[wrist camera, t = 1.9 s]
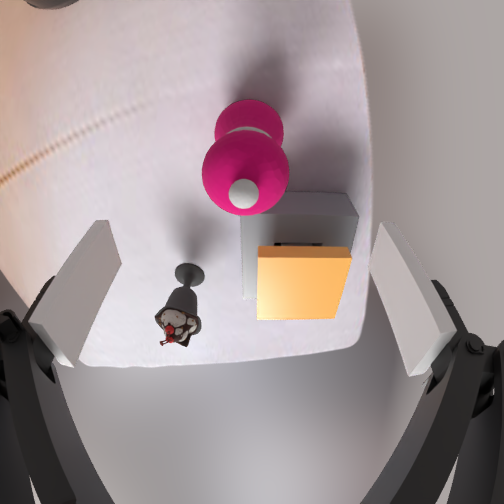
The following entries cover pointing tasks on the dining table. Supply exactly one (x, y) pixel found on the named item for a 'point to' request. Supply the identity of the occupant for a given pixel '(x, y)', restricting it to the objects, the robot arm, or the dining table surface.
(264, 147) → the pepper mill
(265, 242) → the breaker box
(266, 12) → the dining table surface
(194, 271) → the sundae
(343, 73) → the dining table surface
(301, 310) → the button
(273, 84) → the dining table surface
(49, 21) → the dining table surface
